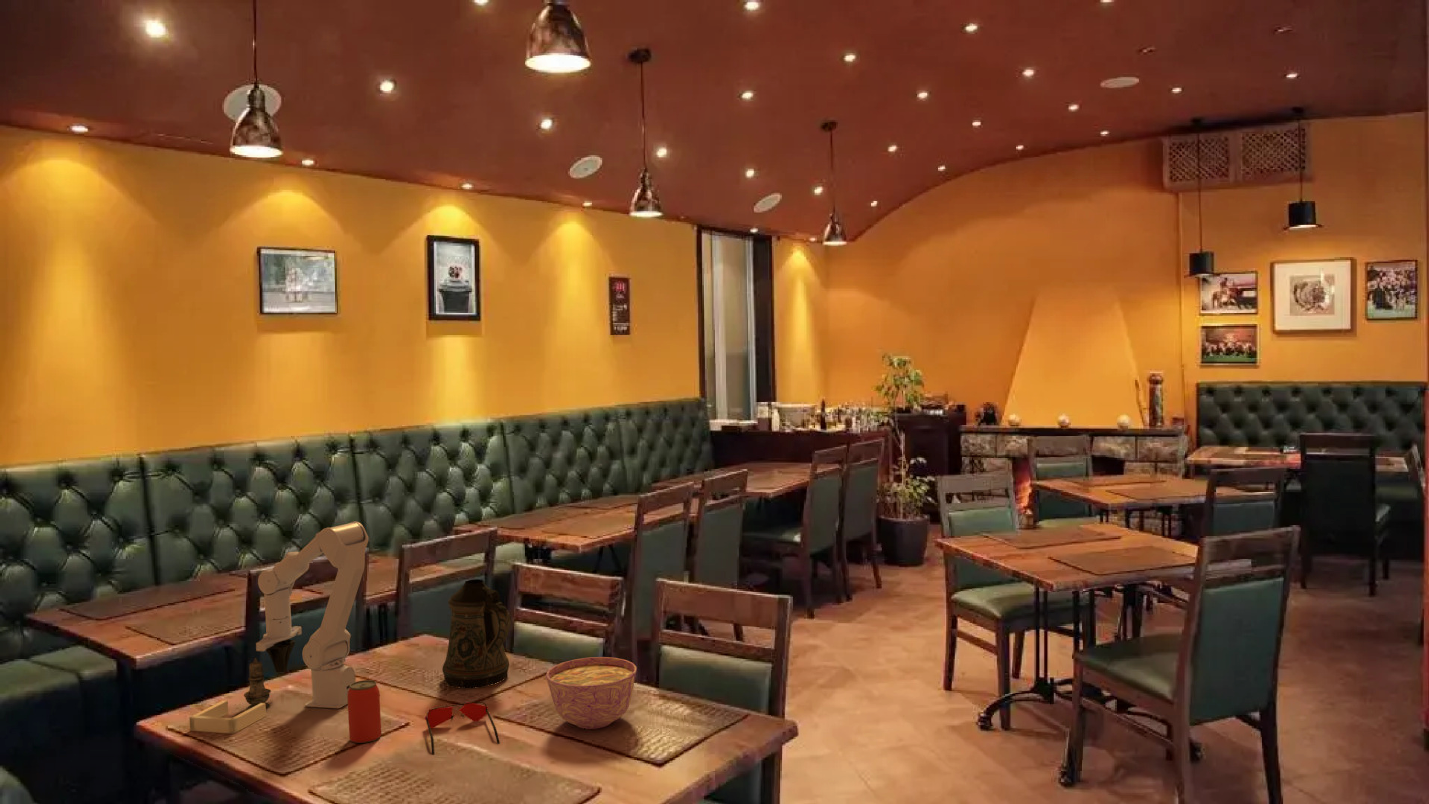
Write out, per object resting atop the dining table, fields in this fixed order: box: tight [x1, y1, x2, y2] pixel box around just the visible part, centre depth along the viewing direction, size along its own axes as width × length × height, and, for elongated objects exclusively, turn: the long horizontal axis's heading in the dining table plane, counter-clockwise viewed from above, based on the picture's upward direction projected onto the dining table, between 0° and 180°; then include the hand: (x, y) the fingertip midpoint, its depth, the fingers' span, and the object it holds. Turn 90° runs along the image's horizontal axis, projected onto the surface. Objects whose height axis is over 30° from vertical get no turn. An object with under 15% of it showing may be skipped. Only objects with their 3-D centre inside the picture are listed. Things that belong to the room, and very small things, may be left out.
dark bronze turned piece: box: [243, 657, 272, 711], centre depth 242 cm, size 6×6×12 cm
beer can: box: [347, 679, 382, 744], centre depth 220 cm, size 7×7×12 cm
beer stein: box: [441, 578, 511, 689], centre depth 258 cm, size 16×19×25 cm
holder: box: [188, 700, 267, 735], centre depth 232 cm, size 11×11×3 cm
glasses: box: [424, 701, 501, 755], centre depth 221 cm, size 14×16×5 cm
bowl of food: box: [545, 656, 638, 730], centre depth 226 cm, size 20×20×12 cm
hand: (281, 671), depth 251 cm, fingers closed
